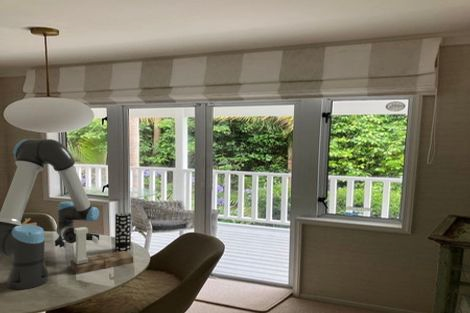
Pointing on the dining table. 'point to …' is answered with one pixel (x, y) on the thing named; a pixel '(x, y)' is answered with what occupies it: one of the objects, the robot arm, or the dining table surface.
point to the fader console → (102, 262)
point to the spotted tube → (122, 232)
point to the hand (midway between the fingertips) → (82, 243)
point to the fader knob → (80, 245)
